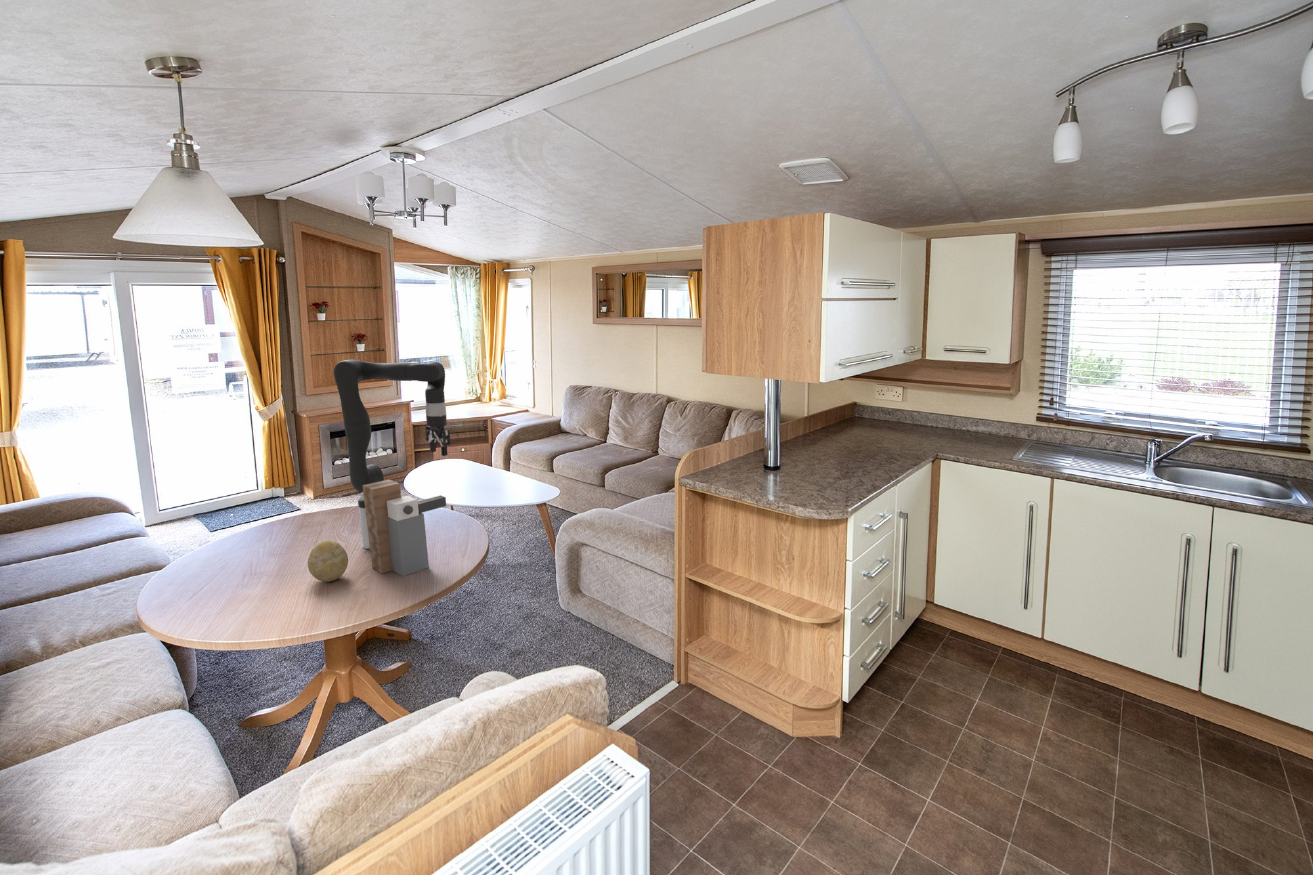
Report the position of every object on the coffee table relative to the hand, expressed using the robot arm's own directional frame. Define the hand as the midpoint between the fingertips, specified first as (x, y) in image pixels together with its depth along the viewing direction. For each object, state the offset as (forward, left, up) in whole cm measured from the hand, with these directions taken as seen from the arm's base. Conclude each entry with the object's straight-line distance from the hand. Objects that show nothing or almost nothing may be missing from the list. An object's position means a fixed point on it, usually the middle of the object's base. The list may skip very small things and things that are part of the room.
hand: (438, 453), depth 249 cm
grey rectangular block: (+13, -22, -38) cm, 46 cm away
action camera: (+14, -17, -17) cm, 27 cm away
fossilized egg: (0, -46, -38) cm, 59 cm away
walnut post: (+5, -26, -38) cm, 46 cm away
